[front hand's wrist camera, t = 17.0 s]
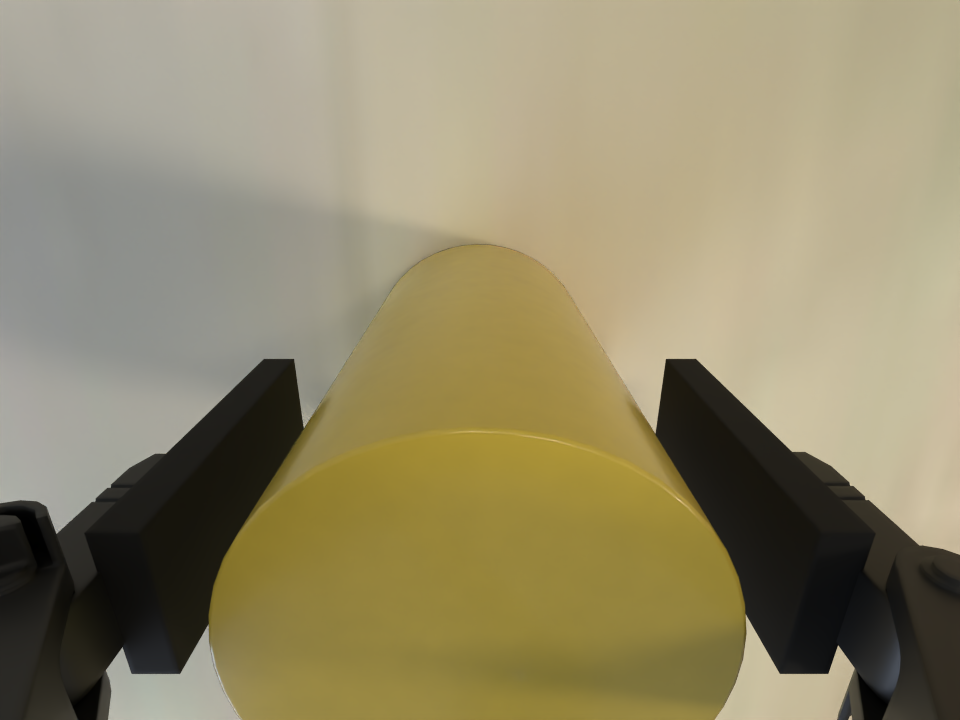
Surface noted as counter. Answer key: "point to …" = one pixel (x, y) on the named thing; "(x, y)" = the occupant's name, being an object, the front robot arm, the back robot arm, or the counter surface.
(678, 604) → the cylinder
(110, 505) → the front robot arm
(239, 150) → the counter surface
